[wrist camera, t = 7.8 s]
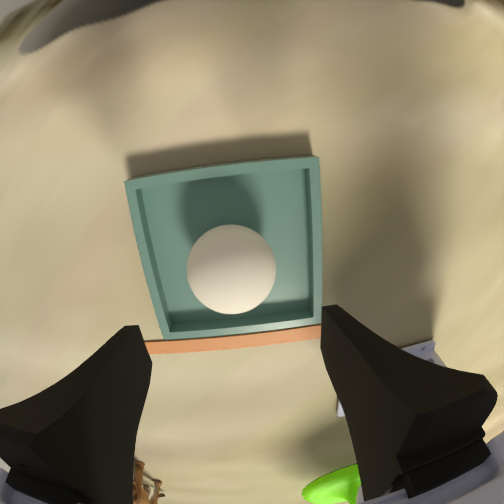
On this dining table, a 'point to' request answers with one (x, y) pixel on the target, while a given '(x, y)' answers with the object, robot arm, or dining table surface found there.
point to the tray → (236, 213)
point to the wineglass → (334, 487)
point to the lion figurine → (144, 488)
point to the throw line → (234, 341)
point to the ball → (231, 269)
